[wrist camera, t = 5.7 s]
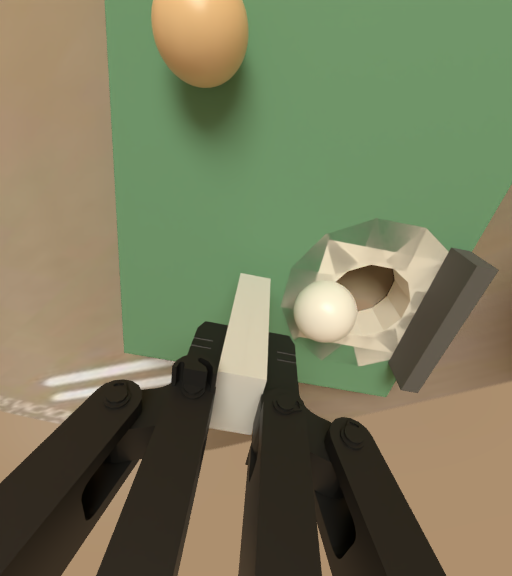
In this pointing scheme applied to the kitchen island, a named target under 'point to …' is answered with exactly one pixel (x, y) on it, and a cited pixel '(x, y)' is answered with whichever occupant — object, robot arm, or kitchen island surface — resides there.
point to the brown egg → (201, 38)
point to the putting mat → (315, 175)
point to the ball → (325, 311)
